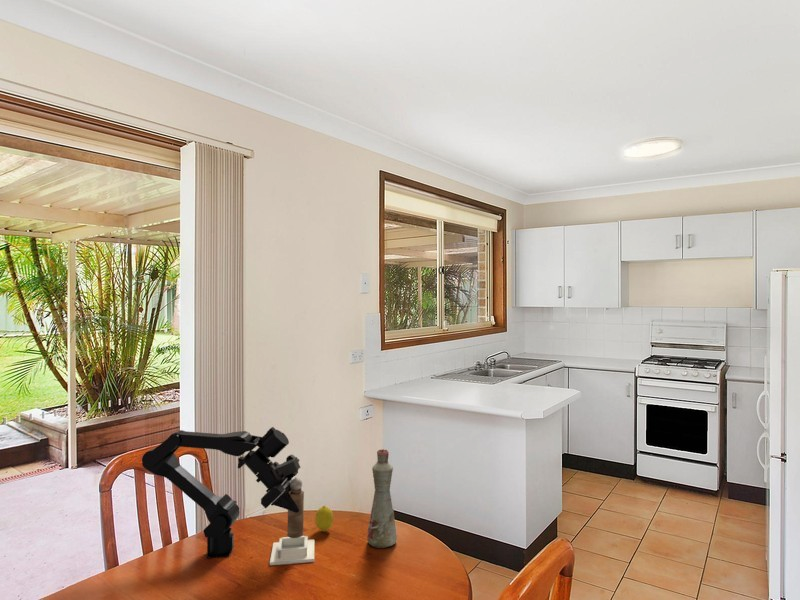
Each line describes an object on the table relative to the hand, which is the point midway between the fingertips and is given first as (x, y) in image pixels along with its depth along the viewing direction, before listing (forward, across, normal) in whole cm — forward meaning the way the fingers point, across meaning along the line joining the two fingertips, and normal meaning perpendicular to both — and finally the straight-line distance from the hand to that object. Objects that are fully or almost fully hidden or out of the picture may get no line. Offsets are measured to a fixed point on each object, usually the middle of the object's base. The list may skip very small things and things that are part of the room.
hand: (300, 508), depth 149 cm
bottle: (+25, +8, -7) cm, 28 cm away
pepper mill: (+4, 0, +6) cm, 8 cm away
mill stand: (+8, +1, +11) cm, 13 cm away
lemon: (+12, +15, +7) cm, 21 cm away
